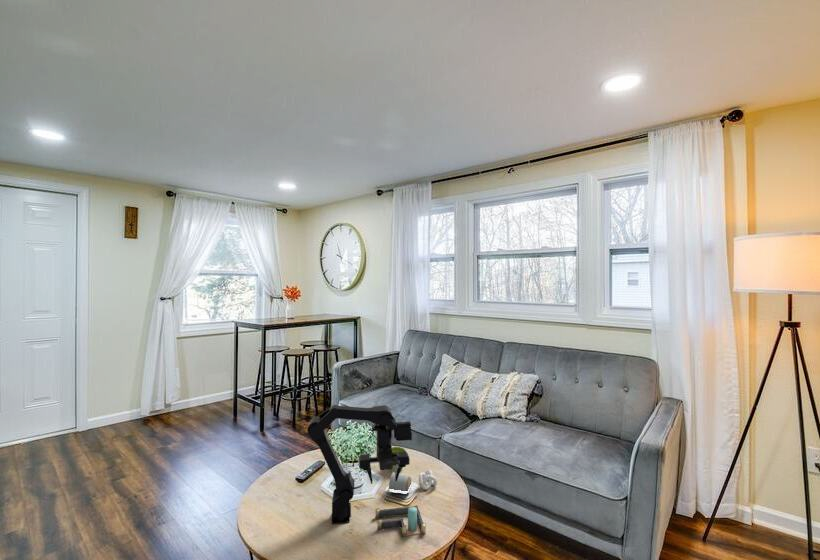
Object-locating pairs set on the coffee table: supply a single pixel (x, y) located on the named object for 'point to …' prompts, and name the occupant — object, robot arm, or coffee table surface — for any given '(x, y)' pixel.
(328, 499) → the coffee table surface
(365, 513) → the coffee table surface
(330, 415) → the robot arm
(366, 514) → the coffee table surface
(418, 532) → the pad
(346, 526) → the coffee table surface
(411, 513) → the peg
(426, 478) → the knot
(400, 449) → the plant pot
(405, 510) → the metal rail track
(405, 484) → the ceramic mug
